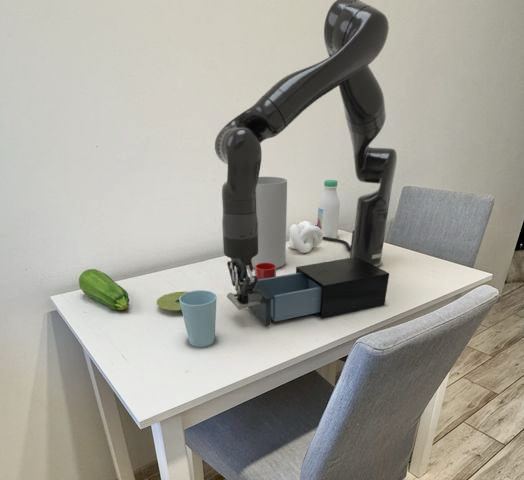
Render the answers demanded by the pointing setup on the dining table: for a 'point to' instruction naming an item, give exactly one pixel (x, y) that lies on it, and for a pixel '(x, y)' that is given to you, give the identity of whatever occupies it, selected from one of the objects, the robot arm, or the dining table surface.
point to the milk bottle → (329, 210)
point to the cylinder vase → (271, 220)
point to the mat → (170, 301)
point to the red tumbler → (265, 270)
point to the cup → (199, 316)
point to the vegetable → (103, 289)
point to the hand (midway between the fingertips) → (242, 306)
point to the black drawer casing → (347, 285)
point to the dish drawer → (282, 298)
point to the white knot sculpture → (305, 236)
